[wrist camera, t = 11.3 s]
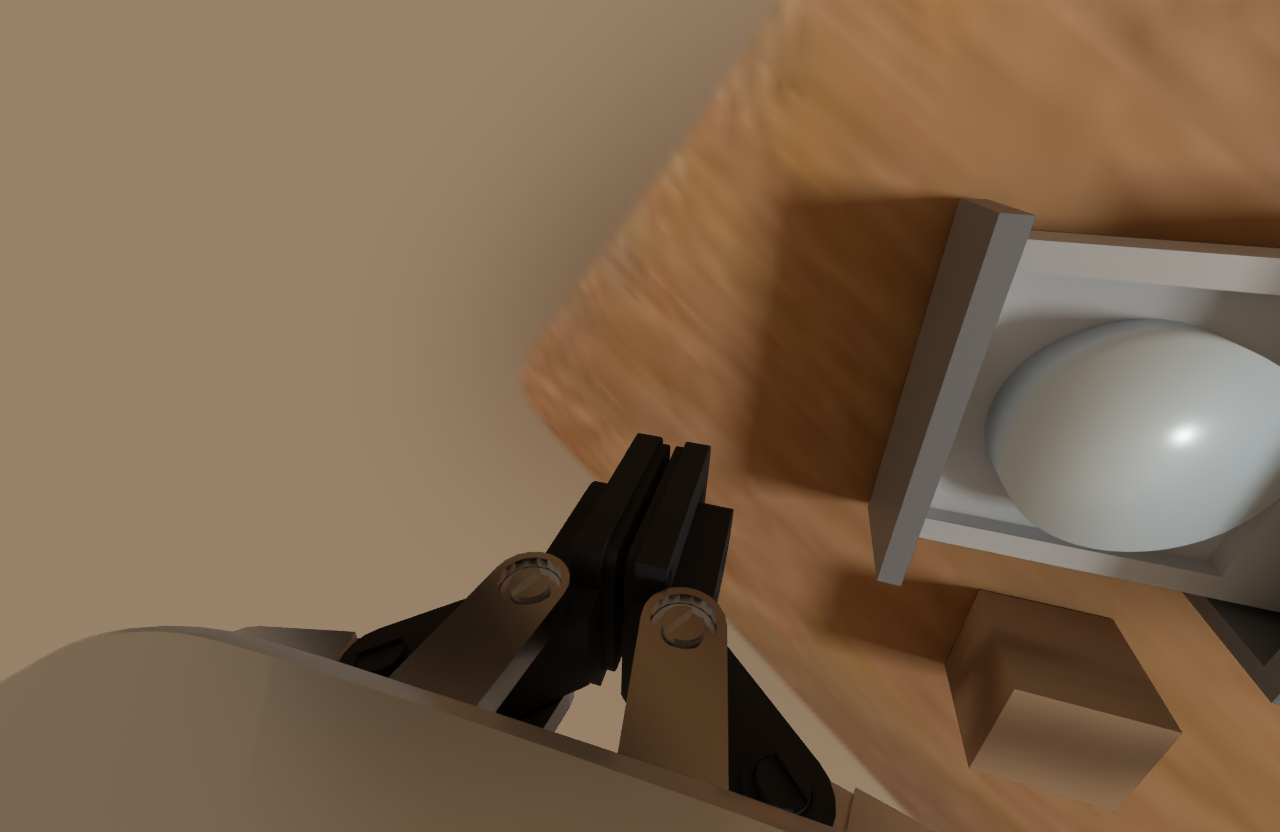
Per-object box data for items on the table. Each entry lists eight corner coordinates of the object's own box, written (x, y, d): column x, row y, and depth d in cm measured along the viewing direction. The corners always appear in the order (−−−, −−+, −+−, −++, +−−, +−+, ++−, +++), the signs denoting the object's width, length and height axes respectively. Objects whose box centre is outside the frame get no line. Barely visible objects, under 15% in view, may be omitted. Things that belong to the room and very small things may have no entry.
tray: (1504, 230, 14) (1765, 263, 10) (1236, 580, 20) (1336, 686, 16) (959, 197, 17) (999, 213, 13) (867, 507, 23) (877, 580, 19)
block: (1063, 695, 24) (1114, 812, 20) (944, 664, 26) (968, 768, 21) (1112, 619, 22) (1182, 733, 18) (979, 589, 23) (1014, 689, 19)
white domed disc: (1189, 531, 18) (1228, 573, 16) (958, 493, 19) (972, 526, 18) (1317, 332, 14) (1382, 357, 13) (1025, 307, 16) (1049, 327, 15)
